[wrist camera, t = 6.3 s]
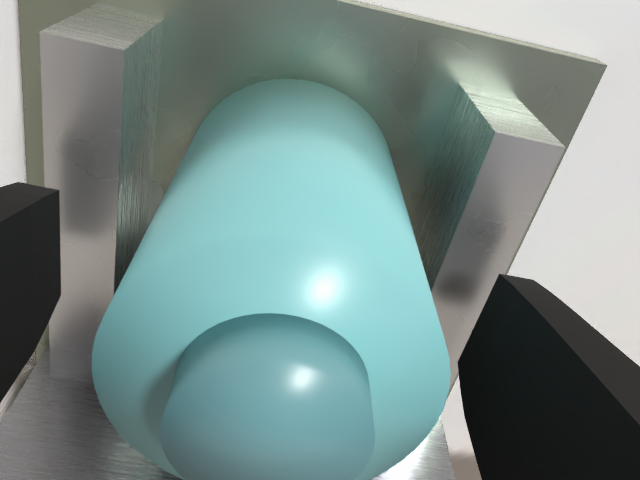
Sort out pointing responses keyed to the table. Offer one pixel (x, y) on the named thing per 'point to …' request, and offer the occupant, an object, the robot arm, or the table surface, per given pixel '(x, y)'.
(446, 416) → the table surface
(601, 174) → the table surface
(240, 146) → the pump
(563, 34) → the table surface
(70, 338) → the motor
